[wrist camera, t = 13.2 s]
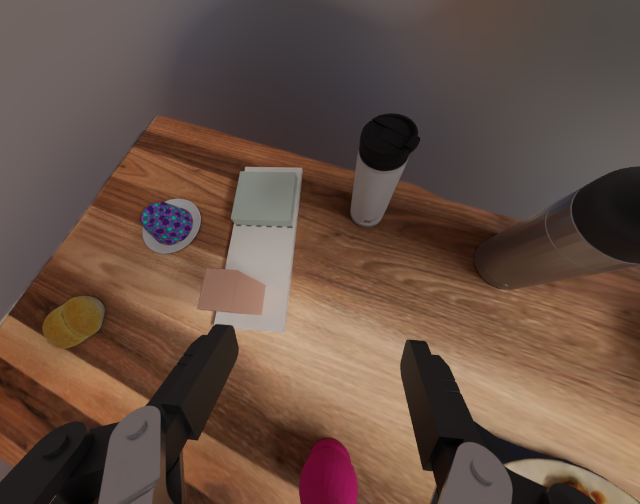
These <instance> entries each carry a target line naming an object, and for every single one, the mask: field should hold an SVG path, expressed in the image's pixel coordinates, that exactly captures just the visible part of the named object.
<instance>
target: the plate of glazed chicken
mask: <svg viewBox="0 0 640 504" xmlns="http://www.w3.org/2000/svg"><path fill="white" fill-rule="evenodd" d="M474 423H475V426H476V428H477V430H478V432H479V435H480V437H481V439H482V441H483V443H484V444H485V446H486V447H487V449H488V450H489V451H490V452H492V453H493V454H494V455H495V456H496V457H497V458H498V459H499V461H500V462H501V463H502V464H503V465H504V466H505V467H507V468H508V469H510V470H511V471H513V472H515V473H517V474H519V475H521V476H524V477H526V478H528V479H530V480H532V481H534V482H536V483H539V484H541V485H543V486H545V487H547V488H549V487H550V486H551V485H553V484H555V483H564V484H567V485H570V486H572V487H574V488H576V489H578V490H580V491H581V492H583V493H584V494H586V495H587V496H588V497H590V498H591V499H592V500H593V501H594V502H595V503H597V504H640V502H639V501H638V500H636V499H635V498H634V497H632V496H631V495H629V494H628V493H627V492H625V491H624V490H622V489H621V488H619V487H617V486H616V485H614V484H613V483H611V482H610V481H608V480H607V479H605V478H604V477H602V476H600V475H598V474H596V473H594V472H593V471H591V470H589V469H587V468H584V467H581V466H579V465H576V464H574V463H572V462H569V461H567V460H563V459H558V458H552V457H549V456H546V455H542V454H539V453H536V452H533V451H530V450H527V449H525V448H522V447H520V446H517V445H515V444H512V443H510V442H507V441H504V440H502V439H499V438H497V437H495V436H494V435H493V434H491V433H490V432H488V431H487V430H486V429H484V428H483V427H481V426H480V425H479V424H477V423H476V422H474Z"/></svg>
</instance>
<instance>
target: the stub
mask: <svg viewBox="0 0 640 504" xmlns="http://www.w3.org/2000/svg"><path fill="white" fill-rule="evenodd" d="M265 287H266V285H264V284H262V283H260V282H259V281H257V280H255V279H253V278H251V277H249V276H247V275H246V274H244V273H242V272H240V271H238V270H229V269H211V268H206V272H205V276H204V281H203V285H202V289H201V294H200V298H199V303H198V307H197V309H199V310H209V311H219V312H229V313H239V314H253V315H262V308H263V301H264V294H265Z"/></svg>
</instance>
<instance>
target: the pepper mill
mask: <svg viewBox="0 0 640 504" xmlns="http://www.w3.org/2000/svg"><path fill="white" fill-rule="evenodd" d="M299 494H300V502H301V504H356V503H357V495H358V487H357V478H356V474H355V471H354V468H353V466H352V464H351V459H350V456H349V453H348V451H347V450H346V448H345V447H344V446H343V445H342V444H341V443H340V442H338V441H336V440H334V439H323V440H321V441H319V442H317V443H316V444H315V445H314V446H313V448H312V449H311V451H310V454H309V457H308V459H307V461H306V462H305V464H304V466H303V469H302V472H301V477H300V485H299Z"/></svg>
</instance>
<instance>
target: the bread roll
mask: <svg viewBox="0 0 640 504" xmlns="http://www.w3.org/2000/svg"><path fill="white" fill-rule="evenodd" d="M104 313H105V308H104V305H103V304H102V303H101V301H99V300H98V299H96V298H94V297H90V296H78V297H73V298H71V299H69V300H68V301H67V302H66V303H65V304H63V305H61V306H60V307H58V308H56V309H54V310H53V311H52V312H51V313H50V314H48V316H47V317H46V319H45V321H44V323H43V334H44V336H45V338H46V339H47V341H48V343H49V344H50V345H52V346H55V347H58V348H69V347H72V346H75V345H77V344H79V343H81V342H82V341H84V340H85V339H87V338H88V337H89V336H92V335H93V334H95V333H96V332H97V331H98V330H99V329H100V328H101V325H102V322H103V318H104Z"/></svg>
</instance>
